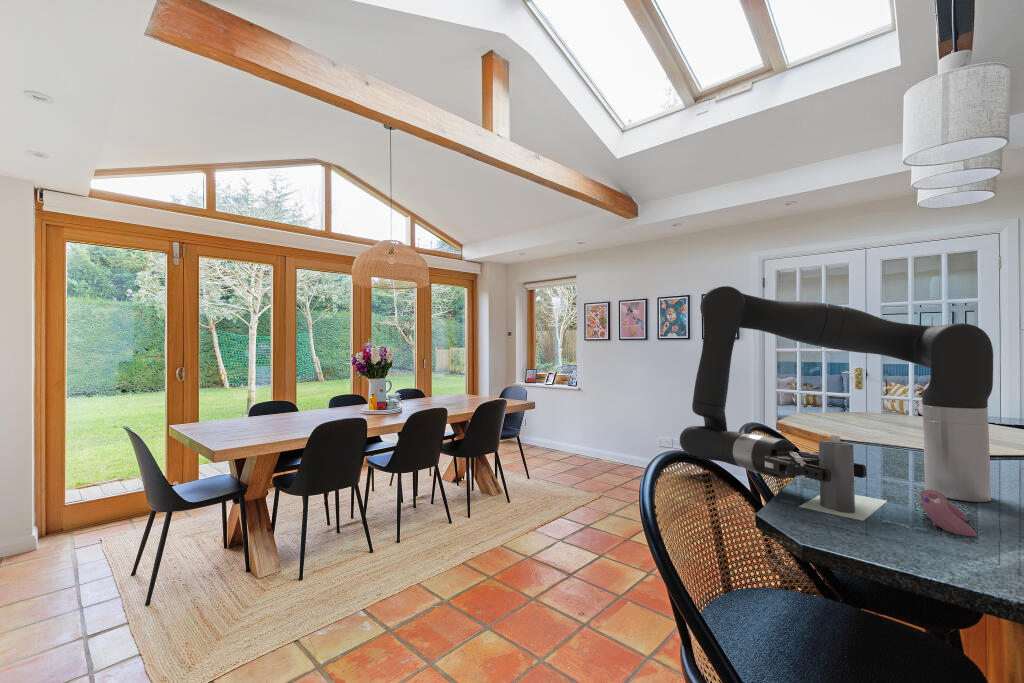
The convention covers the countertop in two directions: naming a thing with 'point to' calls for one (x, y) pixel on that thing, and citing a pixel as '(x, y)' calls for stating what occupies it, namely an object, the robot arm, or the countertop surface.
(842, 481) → the candle
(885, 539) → the countertop surface
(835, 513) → the mat
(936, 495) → the video game controller
